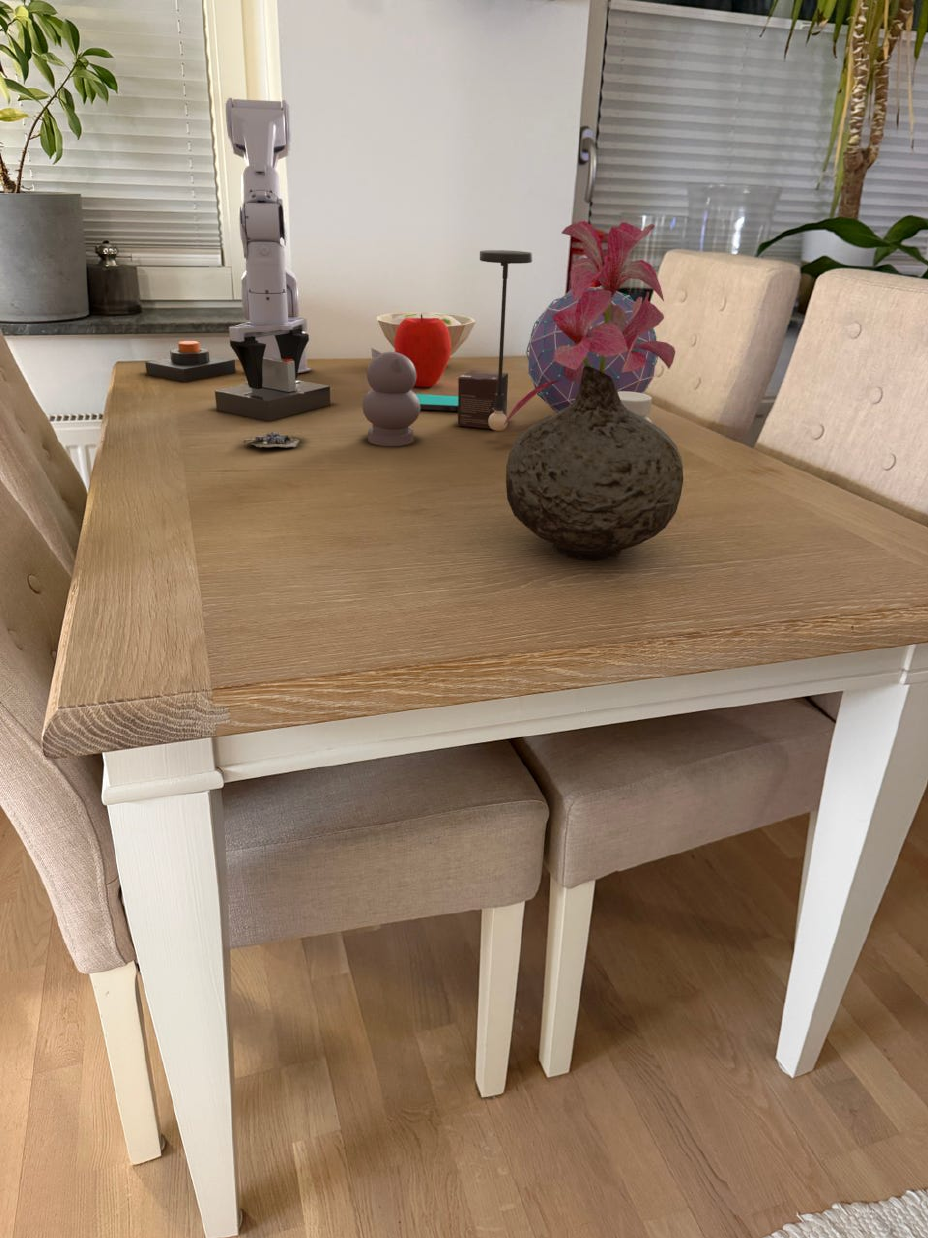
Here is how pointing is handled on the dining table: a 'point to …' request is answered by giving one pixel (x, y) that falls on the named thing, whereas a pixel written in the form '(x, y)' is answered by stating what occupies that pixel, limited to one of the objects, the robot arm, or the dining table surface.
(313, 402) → the tile base
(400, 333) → the apple
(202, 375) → the control block
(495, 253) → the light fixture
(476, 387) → the box
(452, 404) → the smartphone
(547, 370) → the decorative sphere
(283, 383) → the upright gray tile
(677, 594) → the dining table surface
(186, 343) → the button
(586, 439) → the vase
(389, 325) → the bowl
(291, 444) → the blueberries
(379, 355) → the cat figurine
